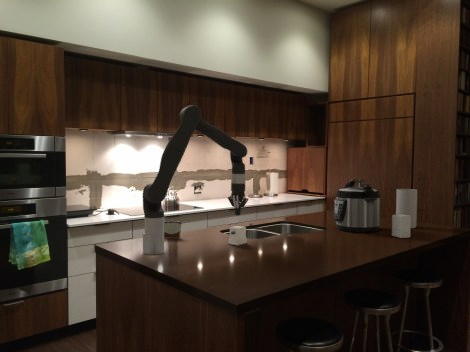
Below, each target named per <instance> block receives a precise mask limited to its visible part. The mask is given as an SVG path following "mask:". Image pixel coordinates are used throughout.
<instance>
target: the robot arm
mask: <svg viewBox="0 0 470 352" xmlns="http://www.w3.org/2000/svg"><path fill="white" fill-rule="evenodd" d="M202 117H203V115H202V110H201V108H200V107H199V106H198V105H193V104H192V105H187V106H186V107H184V108H182V110H181V111H180V113H179V120H180V124H179V126H178V128H177V130H176V131H175V132H174V134H173V135H172V136H171V138H170V140H169V141H168V142H167V144H166V145H165V148H164V150H163V152H162V154H161V157H160V162H159V169H158V173H157V174H156V176H155V178H154V180H153V182H151V183H150V182H149V183H148V184H146V185H145V186H144V187H143V190H142V208H143V214H144V215H143V216H144V218H143V219H144V232H143V233H142V253H143V254H145V255H147V256H148V255H149V256H152V255H153V256H154V255H161V254H164V253H165V238H164V220H165V212H164V209H163V205H162V204H163V203H162V202H163V201H164V200H165V199H166V196H167V194H168V192H169V188H170V186H171V182H172V180H173V177H174V176H175V174H176V172H177V169H178V167H179V165H180V163H181V161H182V159H183V157H184V154H185V152H186V150H187V147H188V145H189V142H190V140H191V137H192V135H193V134H194V131H195V130H196V131H197V132H198V133H200V134H202V135H204V136H206V137H207V138H208V139H210V140H211V141H213V142H214V143H215V144H217V145H218V146H219V147H221V148H222V149H224V150H228V151H229V156H230V163H231V177H230V191H231V194H230V196H228V197H227V200H228V201H229V203H230V205H231V207H233V208H234V215H235V216H240V215H241V211H242V210H241V209H242V208H245V206H246V204H247V203H248V201H249V198H248V197H246V194H245V191H246V164H245V163H244V162H243V158H246V156H247V155H248V148H247V146H246V145H245V144H244V143H242V142H240V141H239V140H237V139H236V138H235V139H234V138H233V137H231V136H230V135H229V134H227V133H226V132H225V131H223V130H222V129H220V128H218V127H216V126H214V125H212V124H211V123H209V122H206V121H205V120H204V119H203V118H202Z"/></svg>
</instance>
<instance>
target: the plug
mask: <svg viewBox="0 0 470 352" xmlns="http://www.w3.org/2000/svg"><path fill="white" fill-rule="evenodd" d="M229 238H230V239H235V240H241V239H245V238H247V227H246V226H243V225H234V226H230V227H229Z"/></svg>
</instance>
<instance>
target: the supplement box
mask: <svg viewBox="0 0 470 352" xmlns="http://www.w3.org/2000/svg"><path fill="white" fill-rule="evenodd" d="M391 220H392V221H391V236H393V237H396V238H400V239H403V238H411V229H412V228H411V216H409V215H403V214H397V215H396V214H392V216H391Z"/></svg>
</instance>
